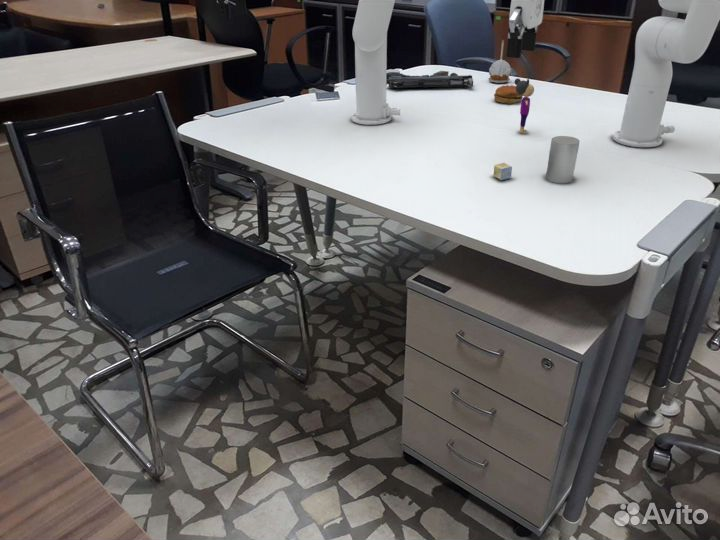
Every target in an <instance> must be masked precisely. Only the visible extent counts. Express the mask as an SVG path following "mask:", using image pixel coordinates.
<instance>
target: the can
mask: <svg viewBox="0 0 720 540" xmlns="http://www.w3.org/2000/svg"><path fill="white" fill-rule="evenodd" d="M579 148H580V139H579V138H577V137H574V136H569V135H556V136H553V137H552V138H551V141H550V147H549V153H548V161H547V165H546V166H547V167H546V173H545V179H546V180H547V181H548V182H551V183H553V184H569V183H572V182H573V181H574V175H575V170H576V164H577V158H578V153H579Z"/></svg>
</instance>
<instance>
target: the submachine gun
mask: <svg viewBox="0 0 720 540" xmlns="http://www.w3.org/2000/svg"><path fill="white" fill-rule="evenodd" d="M449 73H450V72H449V71H448V70H447V71H446V70H439V71H437V72H435V73H434V72H433V74H430V75H429V74H422V75H409V74H403V73H400V72H396V71H390V72H386V86H387V85H388V88H389V89H401V88H403V89H404V88H405V89H406V88H453V87H455V88H456V87H461V88H462V87H467V86H468V87H470V88H472V87H473V86H474V79H473V75H470V74H468V75H458V73H456V72H452V73H450V74H449Z"/></svg>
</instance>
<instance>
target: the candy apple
mask: <svg viewBox="0 0 720 540" xmlns="http://www.w3.org/2000/svg"><path fill="white" fill-rule="evenodd" d="M504 44H505V40H504V39H502V40H501V48H500V56H499V57H500V58H499V59H498V60H496V61H494V62H493V63H492V64H491V65H490V67H489V69H488V71H489V72H488V75H489V77H488V79H487V80H488V81H489V82H491V83H497V84H504V83H507V82H510V81H511V79H510V75H511V73H512V68H511V65H510V64H509V62H508V61H506V60H505V59H503V56H504V55H503V54H504V47H505V46H504Z"/></svg>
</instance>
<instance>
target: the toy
mask: <svg viewBox="0 0 720 540" xmlns="http://www.w3.org/2000/svg"><path fill="white" fill-rule="evenodd" d="M514 84H515V86H516V92H517V93H518V94H520V95H523V96H522V99H521V101H520V109H519V110H520V111H519V114H520V123H519V124H520V125H519V133H520V134H527V129H525V127H526V122H527V118H528V117H529V113H530V108H531V98H530V97H531V96H533V94H534V92H535V87H534V85H532V84H531V83H530V79H529V78H527V79H526V80H521V78H519V77H518V78H515V79H514Z"/></svg>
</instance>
